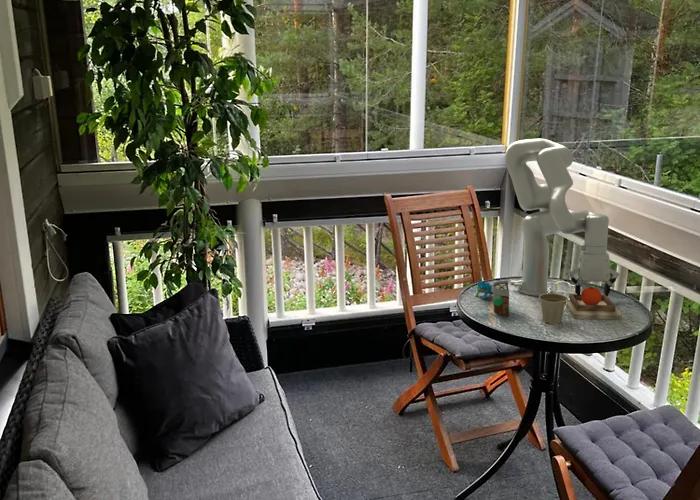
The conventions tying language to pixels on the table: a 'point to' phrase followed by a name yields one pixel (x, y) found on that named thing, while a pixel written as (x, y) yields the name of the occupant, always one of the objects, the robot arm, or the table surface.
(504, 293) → the food container
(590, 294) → the clementine
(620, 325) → the table surface
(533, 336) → the table surface
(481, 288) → the toy dinosaur
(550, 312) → the flower pot
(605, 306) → the board
